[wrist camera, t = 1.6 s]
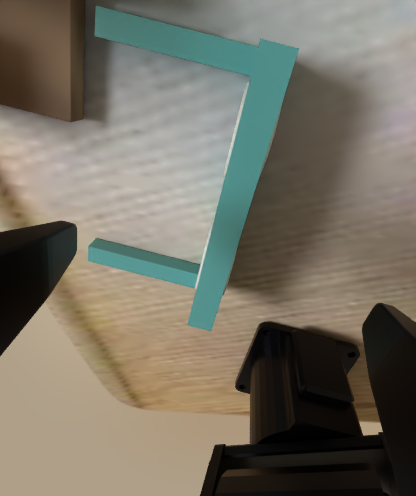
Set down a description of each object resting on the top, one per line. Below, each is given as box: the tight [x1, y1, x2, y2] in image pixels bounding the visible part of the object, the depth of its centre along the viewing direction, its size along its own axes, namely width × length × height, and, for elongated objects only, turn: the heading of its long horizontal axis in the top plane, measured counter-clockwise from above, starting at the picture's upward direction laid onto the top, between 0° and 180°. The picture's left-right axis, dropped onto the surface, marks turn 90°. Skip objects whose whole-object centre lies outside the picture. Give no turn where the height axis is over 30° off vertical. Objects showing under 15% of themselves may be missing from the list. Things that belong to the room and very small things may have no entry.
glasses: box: [88, 5, 299, 331], centre depth 14 cm, size 12×8×4 cm, turn 167°
